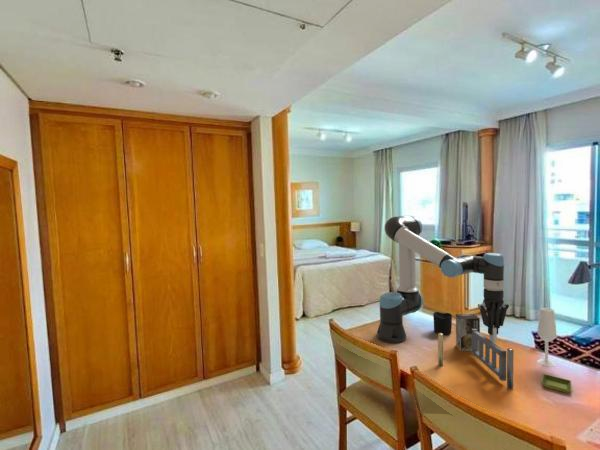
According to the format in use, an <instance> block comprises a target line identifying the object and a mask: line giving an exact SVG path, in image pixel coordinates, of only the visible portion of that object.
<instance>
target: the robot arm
mask: <svg viewBox="0 0 600 450" xmlns="http://www.w3.org/2000/svg"><path fill="white" fill-rule="evenodd" d="M422 231H423V224H422V222H421V220H420V219H419V218H418V217H416V216H414V215H402V216H401V215H400V216H392V217H390V218H389V219H388V220H387V221H385V223H384V232H385V235H386V236H387V237H388V238H389V239H390V240H392V241H393V242H395V243H396V244H398V264H399V265H398V267H399V270H398V274H399V278H398V279H399V286H397V288H396V291H389V292H385V293H382V294H381V295H380V297H379V326H378V328H377V331H376V338H377V339H378V340H380V341H382V342H384V343H387V344H388V343H389V344H399V343H403V342H406V341H407V332H406V330H405V327H404V323H403V321H404V320H403V317H404V316H406V315H409V314H414V313H416V312H417V311H418V312H419V311H420V310H421V308H423V304H424V298H423V296H422V294H421V292H420V291H419V290H420V289H419V288H418V287H417V286H416V285H417V283H416V281H417V280H416V277H417V276H416V272H417V271H416V254H418V255H420V256H421V257H422V258H424V259H425V260H427V261H429V262H430V263H432V264H433V265H435V266H437V268H440V271H441V273H442V274H443V275H444V276H446V277H447V278H456V277H459V276H463V275H466V274H470V273H471V274H472V273H475V274H482V275H483V301H482V302H481V304H480V303H479V304H477V308H478V309H479V312H480V315H481V320H482V323H483V325H484V326H485V327H487V334H488V335H489V338H488V339H489V340H490V341H492V342H493V343H494V344H496V343H498V341H497V339H498V338H497V336H498V335H499V329H501V327H503V326H504V323H505V319H506V314H507V311H508V309H509V308H510V304H507V303H505V301H504V294H505V293H504V279H505V278H504V273H505V271H504V269H505V268H504V267H505V261H504V255H503V254H502V253H498V252H496V253H495V252H486V253H484V254H483V256H478V255H477V256H476V255H470V254H458V256H456V257H455V256H454V255H452V254H450V253H449V252H447V251H445V250H443V249H442V248H439V247H438V246H437V245H435V244H434V243H432V242H430V241H427V240H426V238H423V237H421V236H420V235H421V233H422Z"/></svg>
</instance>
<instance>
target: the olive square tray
mask: <svg viewBox="0 0 600 450" xmlns="http://www.w3.org/2000/svg"><path fill="white" fill-rule="evenodd" d="M541 379H542V380H541V383H542V385H543V387H545V388H547V389H551V390H556V391H559V392H561V393H562V392H563V393H565V394H567V393H570V392H571V391H572V381H571V380H570V379H567V378H566V379H565V378H563V377H562V378H561V377H557V376H553V375H549V374H545V373H543V374H542V378H541Z"/></svg>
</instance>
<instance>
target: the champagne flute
mask: <svg viewBox="0 0 600 450" xmlns="http://www.w3.org/2000/svg"><path fill="white" fill-rule="evenodd" d="M536 333H537V335H538V337H540V339H541V340H543V341H544V358H540V359H538V360H536V363H537V364H539V365H541V366H544V367H548V368H553V367H557V364H556V363H555V362H553V361H552V360H551V359H549V342H552V341H554V340H555V339H556V338H557V325H556V315H555V309H553V308H550V307H541V308H540V310H539V318H538V325H537V332H536Z"/></svg>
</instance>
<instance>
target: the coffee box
mask: <svg viewBox="0 0 600 450" xmlns="http://www.w3.org/2000/svg"><path fill="white" fill-rule="evenodd" d="M480 322H481V321H480V318H479V317H478V316H477V315H476V313H462V314H461V313H457V314H455V336H456V337H455V345H456V347H457V348H458V349H459V351H462V352H472V329H477V331H478V332H479V333H481V330H480V329H481V325H480V324H481V323H480ZM477 351H478V352H479V339H477Z"/></svg>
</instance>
